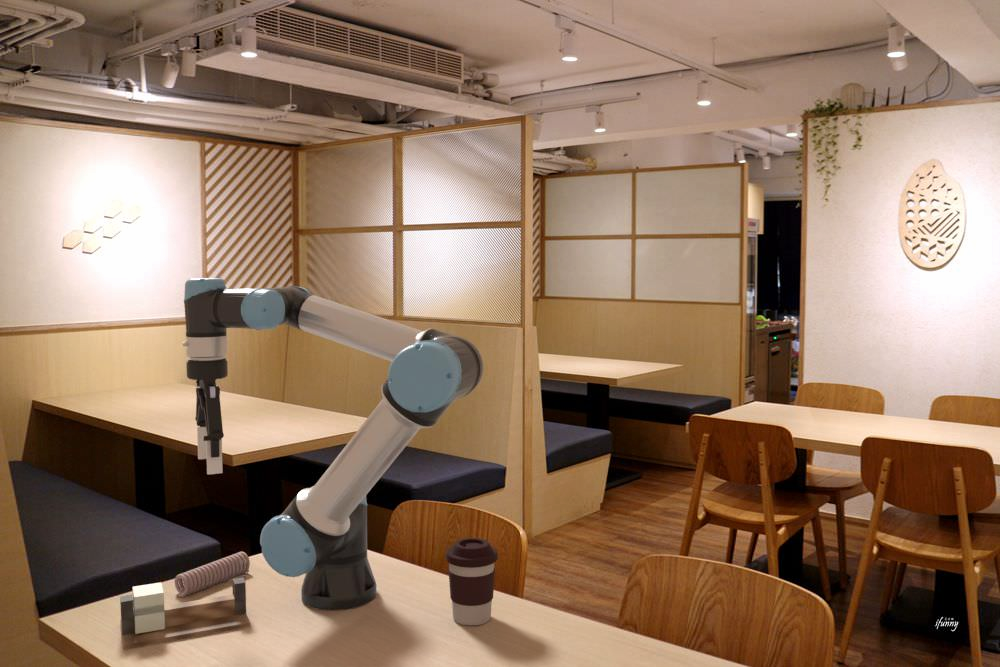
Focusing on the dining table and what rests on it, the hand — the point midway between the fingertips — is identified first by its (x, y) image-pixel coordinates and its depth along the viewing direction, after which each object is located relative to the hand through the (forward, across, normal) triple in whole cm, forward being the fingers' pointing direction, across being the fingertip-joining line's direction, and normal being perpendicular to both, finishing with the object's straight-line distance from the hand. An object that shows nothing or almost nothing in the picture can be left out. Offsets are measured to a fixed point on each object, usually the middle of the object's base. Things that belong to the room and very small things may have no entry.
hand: (209, 465), depth 169 cm
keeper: (+28, +6, -12) cm, 31 cm away
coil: (+29, -14, +2) cm, 32 cm away
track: (+29, +6, -6) cm, 30 cm away
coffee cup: (+29, +27, +44) cm, 59 cm away
